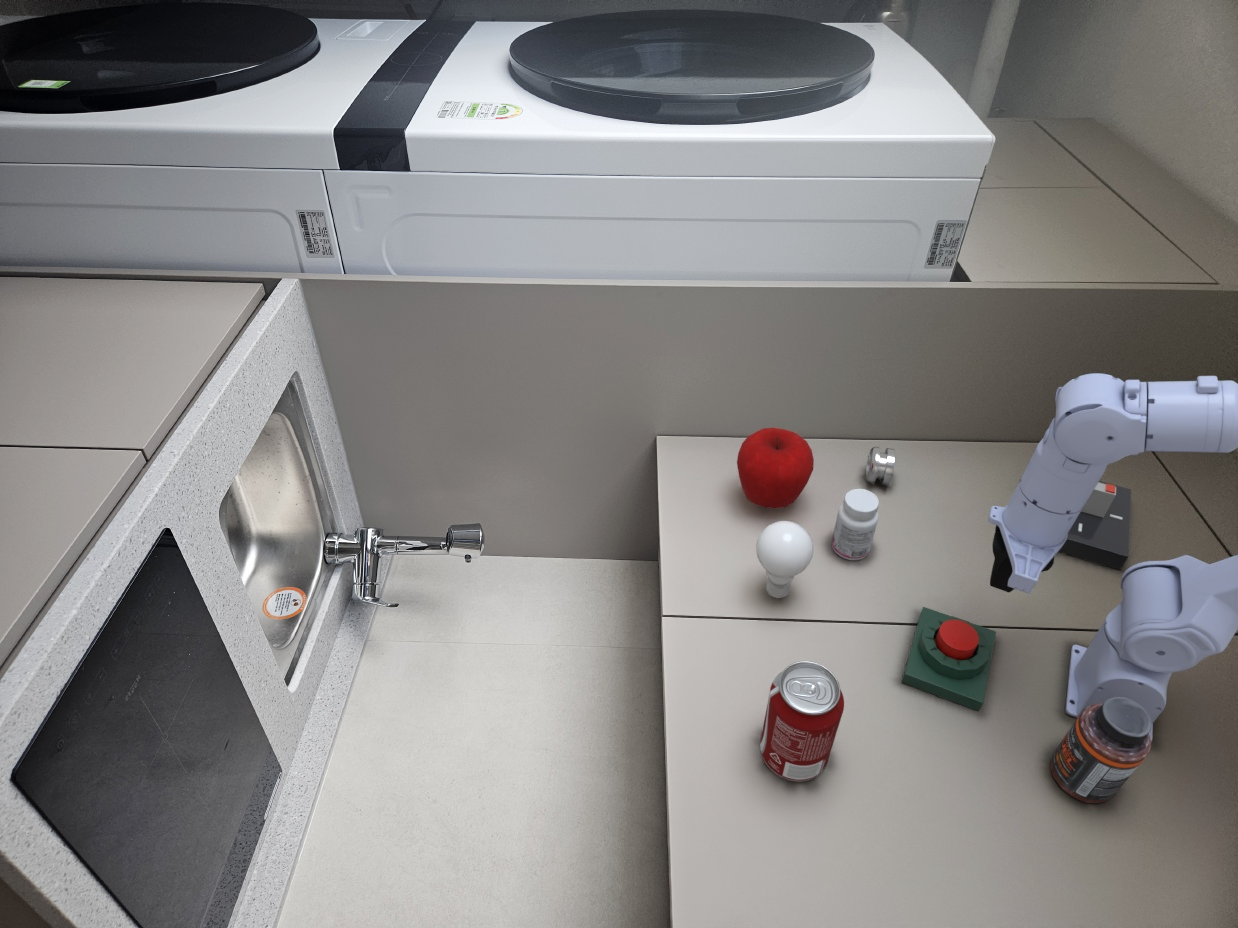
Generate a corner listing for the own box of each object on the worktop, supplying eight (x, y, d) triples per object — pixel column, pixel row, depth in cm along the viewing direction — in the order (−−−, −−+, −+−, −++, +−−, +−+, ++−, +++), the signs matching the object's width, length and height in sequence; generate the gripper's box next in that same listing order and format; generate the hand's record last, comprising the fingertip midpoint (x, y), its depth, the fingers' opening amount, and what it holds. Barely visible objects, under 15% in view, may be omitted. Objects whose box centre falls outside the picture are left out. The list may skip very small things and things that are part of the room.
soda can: (827, 790, 78) (848, 725, 70) (757, 778, 79) (770, 713, 71) (826, 727, 83) (846, 660, 75) (760, 717, 84) (773, 650, 76)
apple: (747, 530, 104) (755, 468, 97) (722, 481, 111) (728, 420, 104) (818, 516, 106) (831, 454, 98) (789, 469, 113) (800, 408, 105)
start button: (971, 665, 85) (975, 655, 84) (932, 651, 86) (936, 641, 85) (977, 637, 87) (981, 627, 86) (939, 624, 89) (943, 614, 88)
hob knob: (1060, 505, 103) (1072, 481, 100) (1061, 497, 104) (1073, 473, 101) (1103, 517, 101) (1116, 493, 98) (1104, 509, 102) (1117, 485, 99)
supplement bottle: (1040, 745, 81) (1081, 682, 74) (1101, 750, 81) (1149, 687, 73) (1058, 803, 77) (1104, 742, 69) (1123, 808, 76) (1177, 748, 69)
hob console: (1120, 570, 98) (1128, 555, 96) (1024, 541, 102) (1030, 526, 100) (1123, 502, 107) (1131, 488, 105) (1034, 478, 110) (1041, 464, 109)
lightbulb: (784, 622, 93) (796, 560, 86) (739, 594, 96) (747, 531, 89) (813, 590, 97) (828, 527, 89) (770, 564, 100) (780, 501, 92)
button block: (978, 711, 84) (988, 692, 82) (901, 682, 87) (908, 663, 85) (992, 640, 91) (1001, 621, 89) (919, 615, 94) (926, 596, 91)
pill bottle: (837, 528, 104) (849, 481, 98) (874, 541, 102) (887, 494, 97) (825, 552, 101) (836, 505, 95) (862, 566, 99) (876, 519, 94)
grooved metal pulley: (887, 493, 109) (895, 465, 105) (864, 489, 109) (871, 462, 106) (887, 468, 112) (894, 441, 109) (865, 465, 113) (872, 438, 110)
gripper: (1015, 433, 80) (971, 525, 90) (996, 529, 71) (949, 621, 80) (1091, 455, 78) (1038, 547, 87) (1083, 557, 69) (1024, 648, 78)
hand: (1000, 584), depth 84 cm, fingers closed
